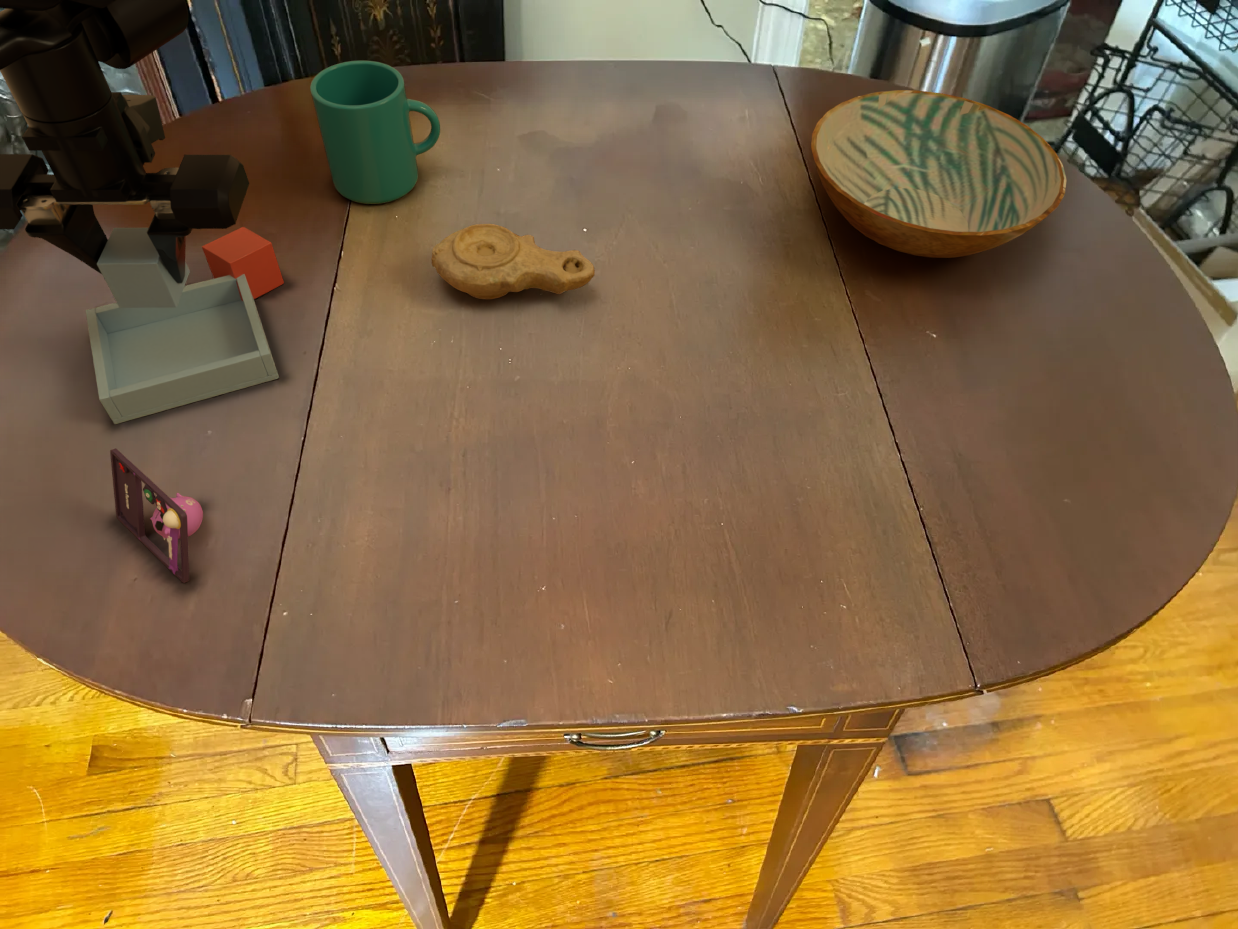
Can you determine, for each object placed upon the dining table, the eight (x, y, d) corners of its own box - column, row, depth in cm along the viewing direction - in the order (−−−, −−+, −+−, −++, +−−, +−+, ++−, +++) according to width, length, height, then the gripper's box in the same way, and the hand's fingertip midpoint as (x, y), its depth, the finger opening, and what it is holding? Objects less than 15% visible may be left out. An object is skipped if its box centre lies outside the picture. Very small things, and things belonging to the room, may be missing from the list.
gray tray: (114, 424, 76) (99, 399, 73) (99, 335, 82) (85, 309, 80) (279, 378, 80) (270, 353, 77) (253, 296, 86) (243, 271, 84)
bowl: (750, 190, 99) (761, 124, 93) (924, 133, 108) (945, 68, 101) (901, 332, 86) (926, 265, 80) (1086, 254, 94) (1122, 188, 88)
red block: (244, 304, 85) (229, 263, 82) (216, 287, 87) (201, 246, 84) (284, 283, 87) (271, 242, 84) (256, 266, 89) (243, 226, 86)
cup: (451, 198, 97) (439, 99, 88) (336, 211, 95) (311, 112, 86) (441, 150, 102) (428, 53, 93) (331, 162, 100) (308, 63, 91)
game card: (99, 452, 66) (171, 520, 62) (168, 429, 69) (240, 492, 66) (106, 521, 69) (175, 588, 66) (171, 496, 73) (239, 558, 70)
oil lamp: (598, 305, 87) (599, 264, 83) (451, 336, 84) (445, 294, 80) (566, 238, 93) (566, 197, 89) (428, 264, 90) (421, 222, 86)
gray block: (119, 308, 73) (96, 263, 69) (135, 271, 76) (113, 227, 72) (176, 307, 73) (156, 263, 70) (190, 271, 76) (171, 227, 72)
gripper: (232, 42, 67) (286, 218, 79) (-31, 40, 66) (65, 219, 78) (196, 125, 60) (261, 304, 72) (-98, 124, 59) (18, 306, 71)
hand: (151, 279), depth 74 cm, fingers closed on gray block, 4 cm apart
